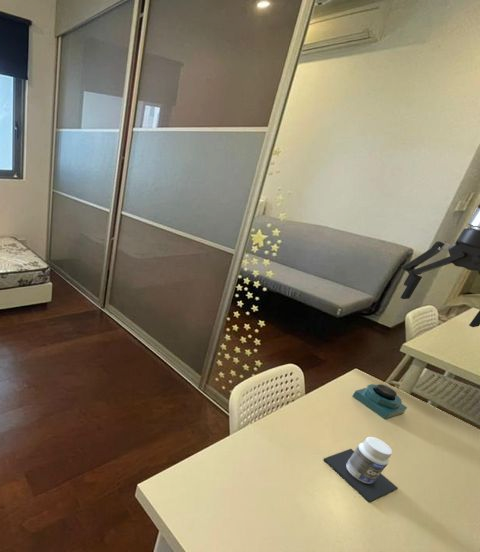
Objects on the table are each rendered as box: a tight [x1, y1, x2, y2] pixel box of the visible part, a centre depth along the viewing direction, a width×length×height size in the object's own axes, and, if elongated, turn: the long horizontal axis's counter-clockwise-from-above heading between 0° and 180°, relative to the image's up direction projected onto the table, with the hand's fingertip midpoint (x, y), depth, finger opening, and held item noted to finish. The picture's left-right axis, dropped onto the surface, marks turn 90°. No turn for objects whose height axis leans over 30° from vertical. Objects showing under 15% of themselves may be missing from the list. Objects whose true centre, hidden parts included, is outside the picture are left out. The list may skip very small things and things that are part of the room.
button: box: [374, 383, 398, 400], centre depth 84 cm, size 4×4×2 cm
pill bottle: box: [346, 436, 393, 484], centre depth 64 cm, size 5×5×8 cm
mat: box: [323, 448, 399, 503], centre depth 66 cm, size 9×9×1 cm
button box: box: [352, 383, 408, 420], centre depth 85 cm, size 8×8×4 cm
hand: (436, 311), depth 81 cm, fingers open, 13 cm apart
